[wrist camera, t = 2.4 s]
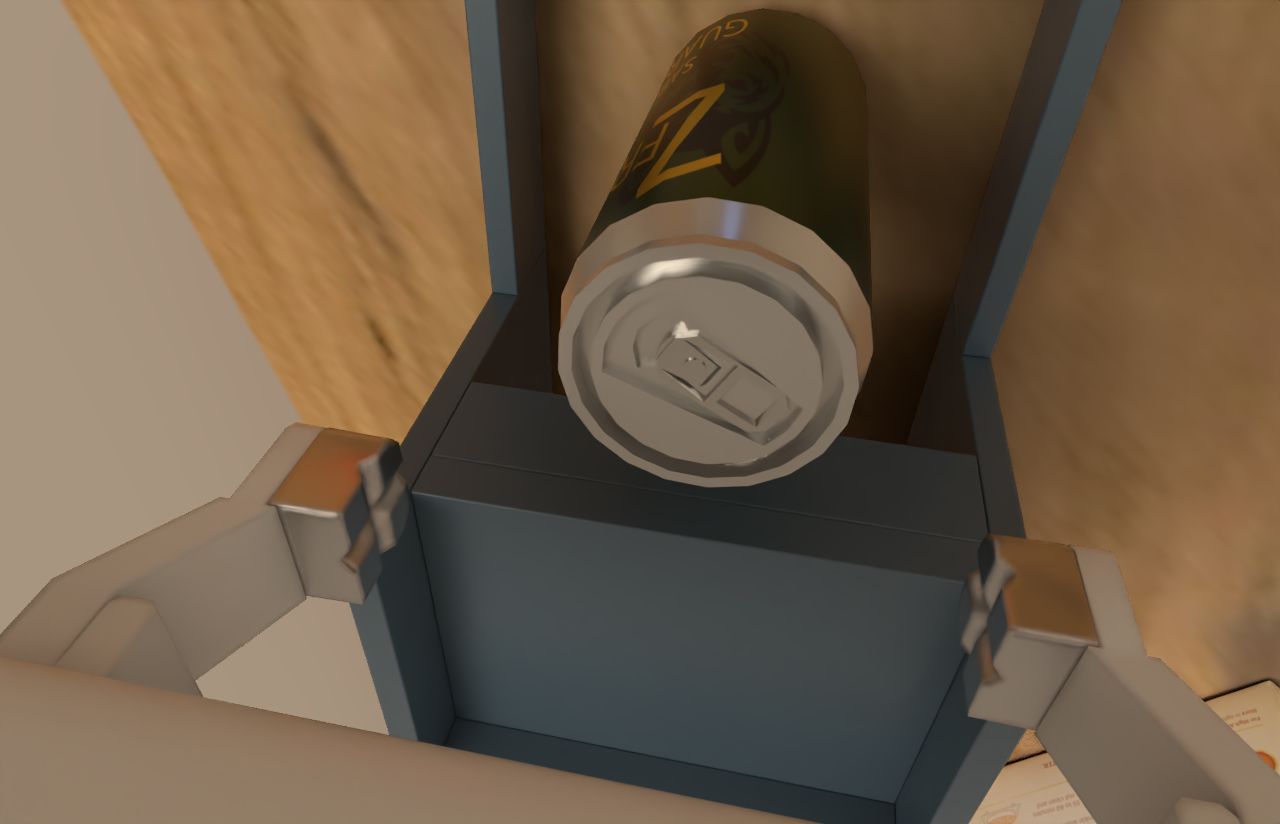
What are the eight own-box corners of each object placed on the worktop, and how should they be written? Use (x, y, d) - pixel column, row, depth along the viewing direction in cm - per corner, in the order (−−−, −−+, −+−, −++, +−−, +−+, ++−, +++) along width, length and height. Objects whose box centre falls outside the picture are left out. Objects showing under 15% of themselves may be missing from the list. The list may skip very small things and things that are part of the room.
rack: (497, -128, 21) (124, 62, 10) (1109, -86, 19) (1429, 199, 8) (536, 470, 34) (390, 826, 23) (902, 528, 32) (925, 943, 21)
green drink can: (912, 84, 22) (951, 361, 13) (781, 235, 25) (739, 539, 16) (741, -47, 21) (653, 156, 12) (627, 129, 24) (490, 393, 15)
